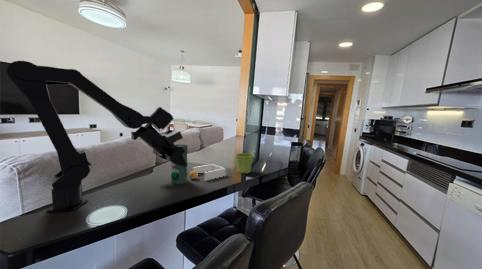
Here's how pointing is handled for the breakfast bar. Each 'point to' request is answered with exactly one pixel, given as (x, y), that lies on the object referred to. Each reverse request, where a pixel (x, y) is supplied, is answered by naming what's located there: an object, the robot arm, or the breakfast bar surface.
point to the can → (179, 169)
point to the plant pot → (244, 162)
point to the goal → (211, 171)
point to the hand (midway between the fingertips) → (182, 164)
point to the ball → (193, 174)
